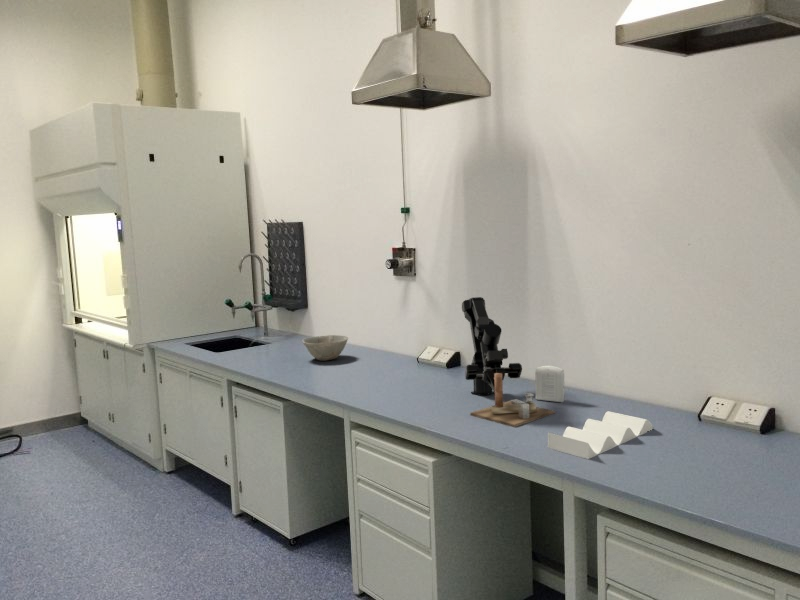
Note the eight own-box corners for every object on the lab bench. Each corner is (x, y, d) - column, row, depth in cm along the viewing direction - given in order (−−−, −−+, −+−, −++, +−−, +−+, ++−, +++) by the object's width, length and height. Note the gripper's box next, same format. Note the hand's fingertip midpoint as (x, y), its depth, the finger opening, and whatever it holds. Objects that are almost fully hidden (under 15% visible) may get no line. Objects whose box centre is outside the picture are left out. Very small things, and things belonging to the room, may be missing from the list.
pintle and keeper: (529, 410, 222) (529, 392, 222) (542, 415, 216) (542, 397, 215) (510, 413, 219) (510, 395, 219) (523, 419, 213) (522, 400, 212)
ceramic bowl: (331, 352, 340) (330, 333, 339) (358, 358, 323) (357, 338, 321) (294, 359, 326) (292, 339, 325) (319, 366, 309) (318, 345, 307)
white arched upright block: (566, 400, 236) (565, 365, 234) (562, 403, 232) (562, 368, 230) (537, 397, 241) (537, 363, 239) (533, 400, 237) (533, 366, 236)
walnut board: (470, 415, 222) (470, 412, 222) (510, 402, 235) (510, 400, 235) (514, 427, 208) (514, 424, 208) (554, 413, 220) (554, 410, 220)
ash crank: (534, 408, 222) (534, 370, 221) (537, 412, 218) (536, 373, 216) (491, 410, 222) (490, 372, 221) (492, 414, 218) (491, 375, 216)
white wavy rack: (654, 430, 201) (654, 414, 200) (588, 461, 178) (588, 442, 178) (615, 421, 211) (615, 406, 210) (547, 450, 188) (547, 432, 187)
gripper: (465, 341, 224) (471, 381, 214) (520, 339, 225) (528, 379, 215) (462, 359, 233) (468, 398, 223) (515, 357, 233) (523, 396, 224)
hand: (496, 393), depth 221 cm, fingers closed, pressing on ash crank
